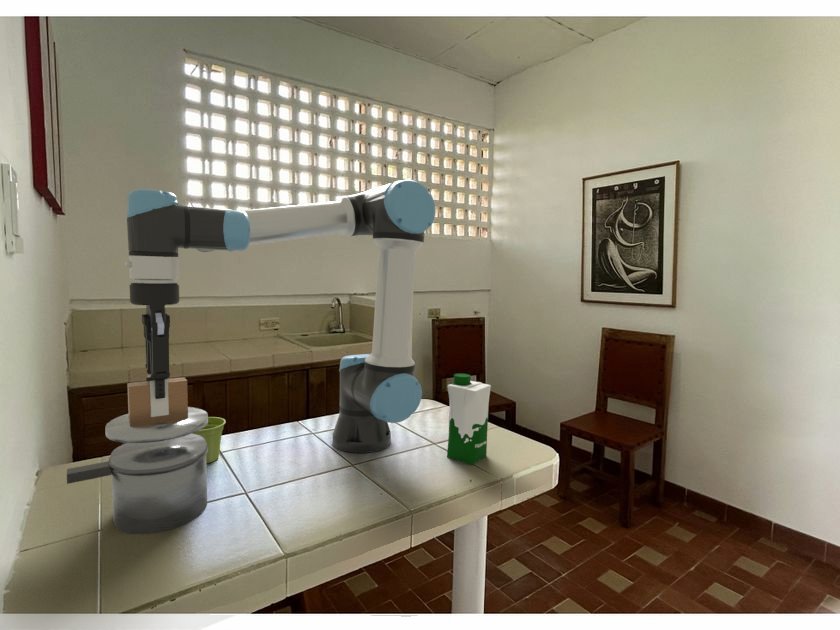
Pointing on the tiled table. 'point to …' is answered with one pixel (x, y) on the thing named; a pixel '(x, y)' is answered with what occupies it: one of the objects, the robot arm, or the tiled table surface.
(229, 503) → the tiled table surface
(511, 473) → the tiled table surface
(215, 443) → the plant pot
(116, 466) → the grey saucepan
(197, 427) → the lid
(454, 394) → the milk carton
